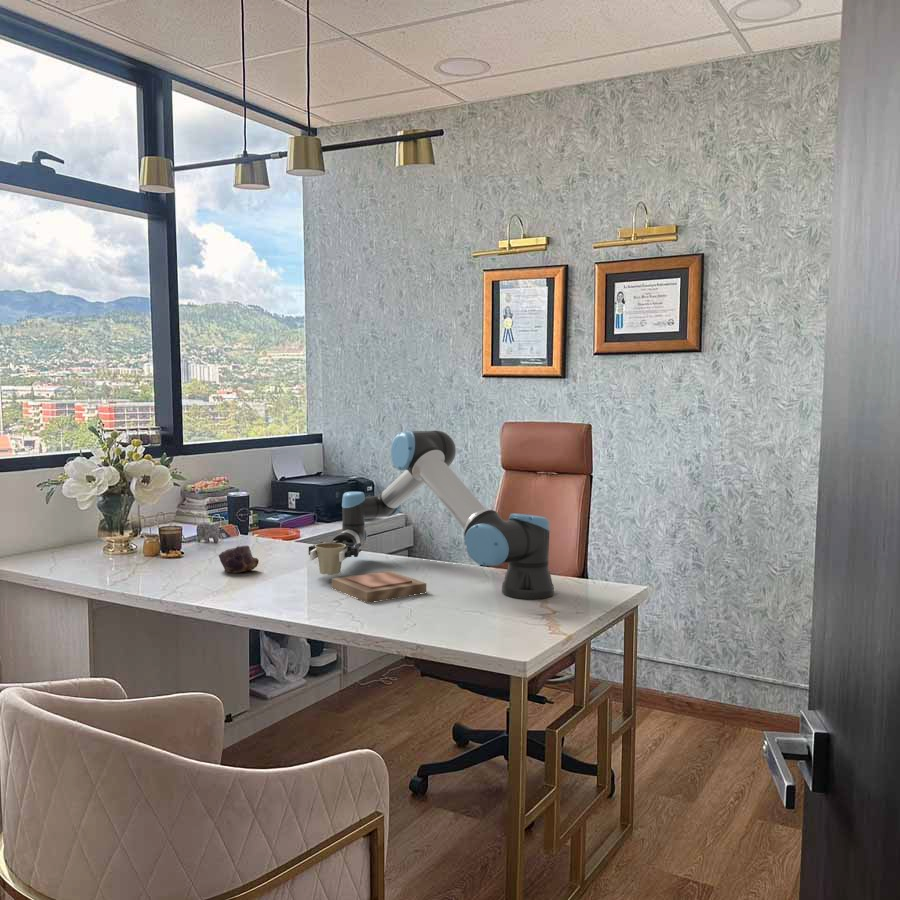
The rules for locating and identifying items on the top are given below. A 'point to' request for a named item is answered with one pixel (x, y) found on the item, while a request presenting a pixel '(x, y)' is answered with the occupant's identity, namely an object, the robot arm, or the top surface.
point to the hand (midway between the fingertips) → (325, 556)
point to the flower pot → (329, 557)
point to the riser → (378, 586)
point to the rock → (238, 559)
